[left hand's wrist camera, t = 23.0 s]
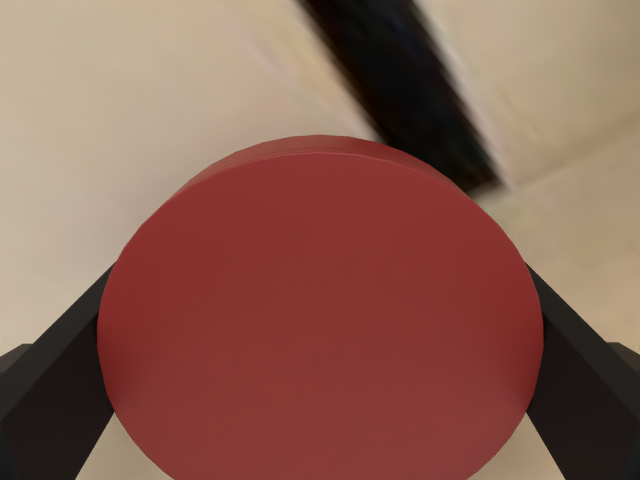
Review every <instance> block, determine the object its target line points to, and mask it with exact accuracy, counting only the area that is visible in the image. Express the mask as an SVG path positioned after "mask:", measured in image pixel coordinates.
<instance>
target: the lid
mask: <svg viewBox="0 0 640 480" xmlns="http://www.w3.org/2000/svg"><path fill="white" fill-rule="evenodd" d="M543 349H544V334H543V318H542V313H541V307H540V302H539V297H538V294H537V291H536V288H535V285H534V283H533V280H532V277H531V274H530V272H529V270H528V268H527V266H526V264H525V263H524V261H523V259H522V257H521V255H520V254H519V252H518V250H517V248H516V247H515V245H514V244H513V243H512V241H511V240H510V239H509V238H508V236H507V235H506V234H505V233H504V231H503V230H502V229H501V227H500V226H499V225H498V224H497V223H496V222H495V221H494V220H493V219H492V218H491V217H490V216H489V215H488V214H487V213H486V212H484V211H483V210H482V209H481V208H480V207H479V206H478V205H477V204H476V203H475V202H474V201H473V200H472V199H471V198H469V197H468V196H467V195H466V194H465V193H464V192H463V191H462V190H461V189H460V188H459V187H458V186H456V185H455V184H454V183H453V182H452V181H451V180H450V179H449V178H447V177H446V176H444V175H443V174H441V173H440V172H439V171H437V170H436V169H434V168H433V167H431V166H430V165H429V164H427V163H425V162H423V161H421V160H419V159H417V158H415V157H413V156H411V155H409V154H407V153H405V152H403V151H400V150H397V149H395V148H392V147H389V146H386V145H383V144H380V143H377V142H373V141H368V140H363V139H358V138H353V137H346V136H330V135H310V136H296V137H288V138H283V139H278V140H273V141H268V142H263V143H260V144H257V145H254V146H252V147H249V148H246V149H243V150H240V151H237V152H235V153H233V154H231V155H229V156H227V157H225V158H223V159H221V160H219V161H218V162H216V163H214V164H212V165H210V166H209V167H207V168H206V169H205V170H203V171H202V172H200V173H199V174H198V175H196V176H195V177H193V178H192V179H191V180H189V181H188V182H187V183H186V184H185V185H184V186H183V187H182V188H181V189H180V190H178V191H177V192H176V193H175V194H174V195H173V196H172V197H171V198H170V199H169V200H168V201H166V202H165V203H164V204H163V205H162V206H161V207H160V208H159V209H158V210H157V211H156V212H155V213H154V214H153V215H152V216H151V217H150V218H148V219H147V220H146V221H145V222H144V223H143V224H142V225H141V226H140V228H139V229H138V230H137V232H136V233H135V234H134V236H133V237H132V238H131V239H130V241H129V242H128V243H127V245H126V246H125V247H124V249H123V251H122V252H121V254H120V256H119V258H118V260H117V262H116V263H115V265H114V267H113V269H112V271H111V273H110V275H109V278H108V281H107V284H106V287H105V290H104V292H103V295H102V299H101V305H100V310H99V316H98V321H97V350H98V355H99V360H100V365H101V369H102V374H103V379H104V383H105V387H106V392H107V396H108V398H109V400H110V402H111V405H112V407H113V409H114V411H115V413H116V415H117V417H118V419H119V420H120V422H121V423H122V425H123V427H124V428H125V430H126V431H127V433H128V434H129V436H130V437H131V438H132V440H133V441H134V442H135V443H136V444H137V446H138V447H139V448H140V449H141V450H142V451H143V453H144V454H145V455H146V456H147V457H148V458H149V459H150V460H151V461H153V462H154V463H155V464H156V465H157V466H158V467H159V468H160V469H161V470H162V471H163V472H165V473H166V474H167V475H169V476H170V477H172V478H173V479H174V480H467V479H468V478H469V477H471V476H472V475H473V474H475V473H476V472H477V471H479V470H480V469H481V468H482V467H483V466H484V465H485V464H486V463H487V462H488V461H489V460H490V459H492V458H493V457H494V456H495V455H496V454H497V452H498V451H499V450H500V449H501V448H502V446H503V445H504V444H505V443H506V442H507V441H508V439H509V438H510V437H511V435H512V434H513V432H514V431H515V429H516V428H517V426H518V425H519V423H520V421H521V420H522V418H523V417H524V415H525V413H526V410H527V408H528V406H529V404H530V402H531V400H532V397H533V395H534V391H535V387H536V382H537V378H538V373H539V369H540V364H541V359H542V354H543Z"/></svg>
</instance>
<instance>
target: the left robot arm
mask: <svg viewBox="0 0 640 480" xmlns="http://www.w3.org/2000/svg"><path fill="white" fill-rule="evenodd" d="M116 262H117V261H116ZM116 262H115V263H116ZM115 263H114V264H113V265H112V266H111V267H110V268H109V269H108V270H107V271H106V272H105V273H104V274H103V275H102V276H101V277H100V278H99V279H98V280H97V281H96V282H95V283H94V284H93V285H92V286H91V287H90V288H89V289H88V290H87V291H86V292H85V293H84V294H83V295H82V296H81V297H80V298H79V299H78V300H77V301H76V302H75V303H74V304H73V305H72V306H71V307H70V308H69V309H68V310H67V311H66V312H65V313H64V314H63V315H62V316H61V317H60V318H59V319H57V320H56V321H55V322H54V323H53V324H52V325H51V326H50V327H49V328H48V329H47V330H46V331H45V332H44V333H43V334H42V335H41V336H40V337H39V338H38V339H37V340H36V341H35V342H34V343H33V344H22V345H20V346H18V347H17V348H15V349H13V350H11V351H10V352H8V353H6V354H4V355H3V356H1V357H0V480H75V479H76V477H77V475H78V474H79V472H80V470H81V468H82V467H83V465H84V463H85V462H86V460H87V458H88V456H89V455H90V453H91V451H92V450H93V448H94V446H95V444H96V443H97V441H98V439H99V438H100V436H101V434H102V432H103V431H104V429H105V427H106V426H107V424H108V422H109V420H110V419H111V417H112V415H113V414H114V412H115V411H114V409H113V407H112V405H111V402H110V400H109V398H108V396H107V392H106V387H105V383H104V379H103V374H102V369H101V365H100V360H99V355H98V350H97V321H98V316H99V310H100V305H101V299H102V295H103V292H104V290H105V287H106V284H107V281H108V278H109V275H110V273H111V271H112V269H113V267H114V265H115ZM524 263H525V262H524ZM525 264H526V263H525ZM526 266H527V268H528V270H529V272H530V274H531V277H532V280H533V283H534V285H535V288H536V291H537V294H538V297H539V302H540V307H541V313H542V318H543V334H544V349H543V354H542V359H541V364H540V369H539V373H538V378H537V382H536V387H535V391H534V395H533V397H532V400H531V402H530V404H529V406H528V408H527V410H526V413H527V414H528V416H529V418H530V420H531V421H532V423H533V425H534V426H535V428H536V430H537V432H538V433H539V435H540V437H541V438H542V440H543V442H544V444H545V445H546V447H547V449H548V450H549V452H550V454H551V456H552V457H553V459H554V461H555V462H556V464H557V466H558V468H559V469H560V471H561V473H562V474H563V476H564V478H565V480H640V355H639V354H637V353H636V352H634V351H632V350H631V349H629V348H627V347H625V346H624V345H622V344H620V343H618V342H605V341H604V340H603V339H602V338H601V337H600V336H599V335H598V334H597V333H596V332H595V331H594V330H593V329H592V328H591V327H590V326H589V325H588V324H587V323H586V322H585V321H584V320H583V319H582V318H581V317H580V316H579V315H578V314H577V313H576V312H575V311H574V310H573V309H572V308H571V307H570V306H569V305H568V304H567V303H566V302H565V301H564V300H563V299H562V298H561V297H560V296H559V295H558V294H557V293H556V292H555V291H554V290H553V289H552V288H551V287H550V286H549V285H548V284H547V283H546V282H545V281H544V280H543V279H542V278H541V277H540V276H539V275H538V274H537V273H536V272H535V271H534V270H533V269H532V268H531V267H529V266H528V265H527V264H526Z"/></svg>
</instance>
